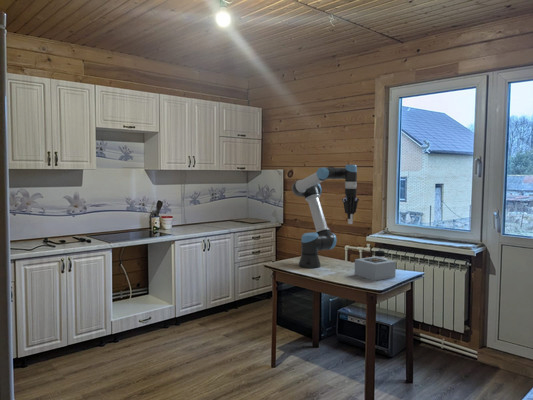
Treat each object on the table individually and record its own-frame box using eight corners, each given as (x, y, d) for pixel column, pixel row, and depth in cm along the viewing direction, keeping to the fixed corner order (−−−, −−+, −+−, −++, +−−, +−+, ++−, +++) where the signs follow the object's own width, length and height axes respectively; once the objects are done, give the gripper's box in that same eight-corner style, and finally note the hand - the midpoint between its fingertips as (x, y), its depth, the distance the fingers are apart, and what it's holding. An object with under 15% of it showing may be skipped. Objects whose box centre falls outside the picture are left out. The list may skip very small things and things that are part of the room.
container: (387, 270, 287) (388, 251, 286) (377, 271, 284) (378, 251, 284) (381, 267, 294) (381, 249, 293) (371, 268, 292) (371, 249, 291)
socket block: (354, 274, 274) (354, 258, 273) (374, 271, 283) (374, 256, 283) (375, 280, 259) (375, 263, 258) (395, 277, 268) (395, 260, 267)
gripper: (347, 188, 271) (346, 225, 272) (362, 188, 278) (361, 223, 279) (339, 188, 277) (338, 223, 279) (354, 187, 284) (353, 222, 285)
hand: (350, 223), depth 279 cm, fingers closed
